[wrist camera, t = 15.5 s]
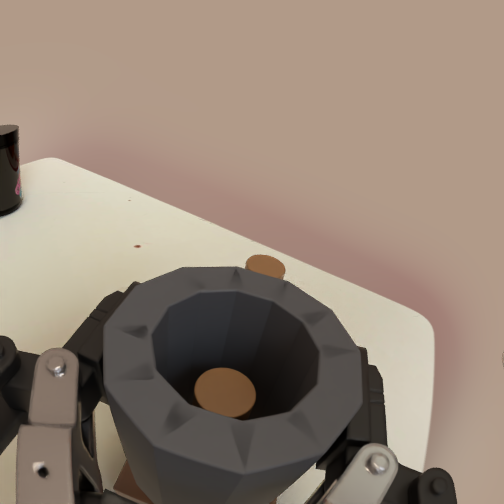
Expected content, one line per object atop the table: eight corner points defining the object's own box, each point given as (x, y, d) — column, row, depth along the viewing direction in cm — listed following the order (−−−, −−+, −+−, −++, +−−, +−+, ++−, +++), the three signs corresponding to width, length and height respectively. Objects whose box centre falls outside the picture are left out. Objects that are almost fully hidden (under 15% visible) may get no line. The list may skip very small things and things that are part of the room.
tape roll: (289, 421, 14) (357, 299, 10) (265, 541, 9) (362, 493, 5) (163, 383, 15) (168, 245, 10) (110, 492, 9) (50, 394, 5)
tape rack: (186, 349, 22) (200, 220, 17) (292, 380, 22) (347, 261, 16) (116, 494, 12) (61, 404, 7) (262, 539, 12) (352, 494, 6)
